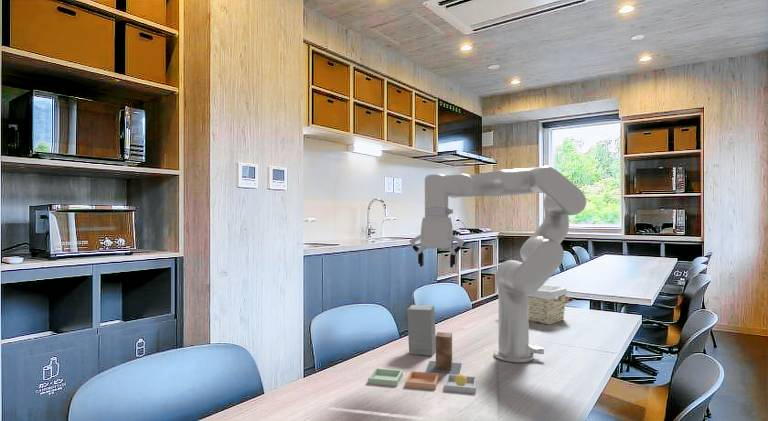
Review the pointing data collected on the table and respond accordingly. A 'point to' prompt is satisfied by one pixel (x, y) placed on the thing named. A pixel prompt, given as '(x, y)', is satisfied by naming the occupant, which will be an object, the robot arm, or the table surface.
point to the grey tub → (467, 388)
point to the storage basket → (547, 304)
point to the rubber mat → (454, 370)
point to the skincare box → (421, 330)
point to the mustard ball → (460, 380)
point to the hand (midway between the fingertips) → (436, 266)
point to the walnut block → (443, 351)
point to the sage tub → (385, 377)
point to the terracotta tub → (422, 380)
